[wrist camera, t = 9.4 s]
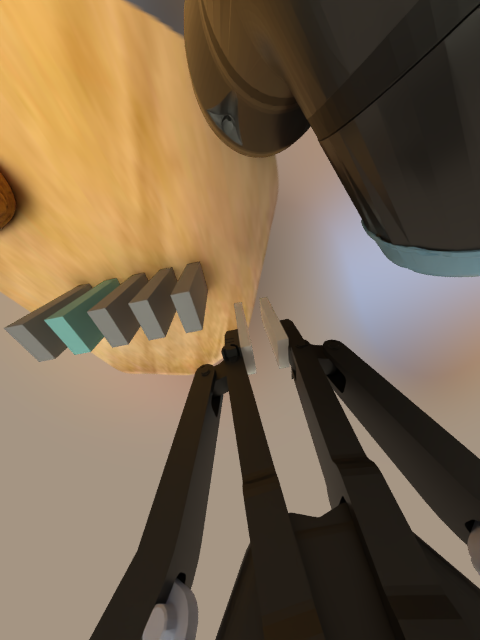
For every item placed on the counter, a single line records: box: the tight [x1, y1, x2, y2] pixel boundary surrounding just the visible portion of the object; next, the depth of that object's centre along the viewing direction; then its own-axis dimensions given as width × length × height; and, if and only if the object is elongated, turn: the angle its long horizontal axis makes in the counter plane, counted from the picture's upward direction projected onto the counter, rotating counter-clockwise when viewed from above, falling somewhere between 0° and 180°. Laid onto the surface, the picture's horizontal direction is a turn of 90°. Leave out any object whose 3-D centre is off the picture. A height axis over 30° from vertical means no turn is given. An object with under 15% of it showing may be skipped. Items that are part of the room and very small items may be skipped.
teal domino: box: [44, 278, 120, 355], centre depth 26 cm, size 2×5×12 cm, turn 10°
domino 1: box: [87, 273, 149, 348], centre depth 26 cm, size 2×5×12 cm, turn 10°
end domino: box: [4, 284, 92, 362], centre depth 26 cm, size 2×5×12 cm, turn 10°
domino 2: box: [128, 267, 177, 340], centre depth 26 cm, size 2×5×12 cm, turn 10°
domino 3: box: [170, 262, 208, 333], centre depth 26 cm, size 2×5×12 cm, turn 10°
